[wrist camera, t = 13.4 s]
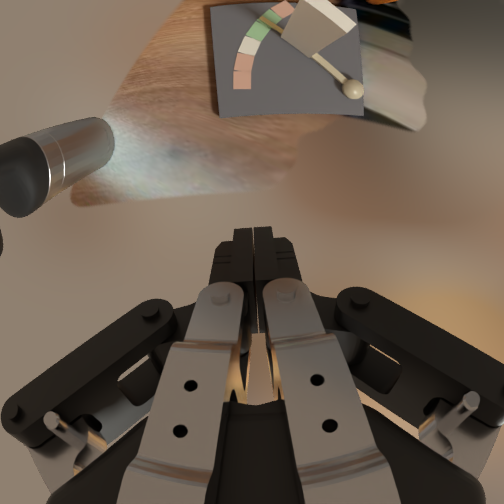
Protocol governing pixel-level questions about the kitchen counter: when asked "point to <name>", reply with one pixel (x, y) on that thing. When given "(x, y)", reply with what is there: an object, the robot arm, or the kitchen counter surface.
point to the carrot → (379, 1)
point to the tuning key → (319, 36)
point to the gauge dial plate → (278, 65)
